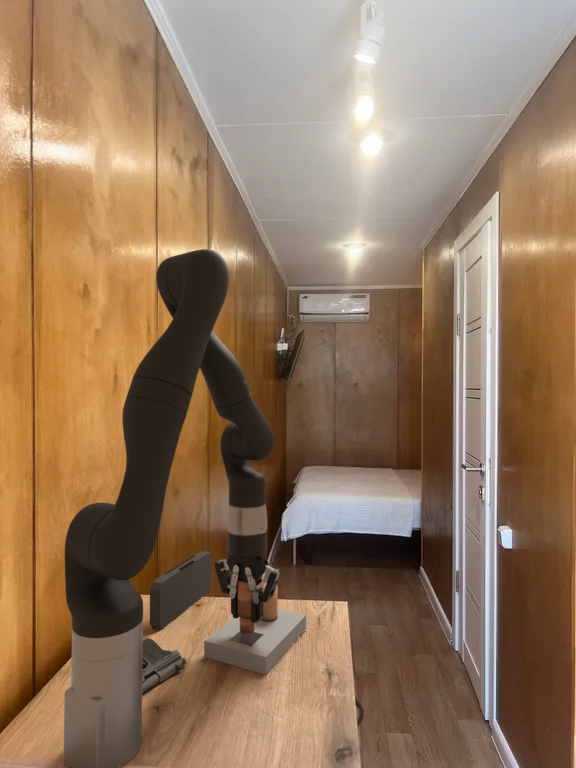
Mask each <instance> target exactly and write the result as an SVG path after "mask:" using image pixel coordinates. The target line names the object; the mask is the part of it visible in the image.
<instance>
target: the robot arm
mask: <svg viewBox="0 0 576 768" xmlns="http://www.w3.org/2000/svg"><path fill="white" fill-rule="evenodd" d="M228 267H229V266H228V263H227V261H226V260H225V258H224V257H223V255H222V254H221V253H219V251H216V250H214V249H210V248H209V249H208V248H207V249H203V248H202V249H196V250H192V251H188V252H184V253H180V254H177V255H172V256H170V257H167V258H165V259H164V260H162V261H161V263H160V264H159V265H158V268H157V270H156V276H155V279H156V280H155V281H156V287H157V289H158V292H159V295H160V298H161V299H162V301H163V304H164V305H165V307H166V309H167V311H168V314H170V316H171V318H172V320H171V322H170V323H169V325H168V327H167V328H166V329H165V330H164V332H163V333H162V334H161V336H160V337H159V338H158V339H157V340H156V342H155V343H154V344H153V345H152V347H150V349H149V350H148V351H147V353H146V354H145V356H143V358H142V359H141V361H139V365H138V366H137V367H136V370H135V372H134V375H133V376H132V379H131V382H130V385H129V388H128V391H127V394H126V397H125V400H124V403H123V408H122V414H121V415H122V421H121V422H122V423H121V424H122V433H123V439H124V440H123V441H124V444H125V445H124V446H125V456H126V458H125V459H126V460H125V461H126V462H125V471H124V477H123V480H122V484H121V486H120V490H119V492H118V496H117V499H116V501H115V504H113V503H109V502H108V503H107V502H95V503H91V504H90V503H89V504H88V505H86V506H84V507H83V508H81V509H80V510H79V511H78V512H77V513H76V514H75V515H74V517H73V519H72V520H71V522H70V524H69V526H68V528H67V532H66V535H65V536H66V537H65V540H64V541H65V543H64V583H65V599H66V600H65V601H66V605H67V609H68V611H69V613H70V616H71V665H70V666H71V667H70V668H71V671H70V674H71V676H70V677H71V679H70V682H71V683H70V687H68V688H67V689H66V690H65V691H64V707H63V708H64V709H63V710H64V711H63V715H64V717H63V721H64V722H63V724H64V725H63V764H64V765H66V766H69V767H70V768H121V767H122V766H124V765H125V764H127V763H128V762H129V761H131V759H133V758H134V757H135V756H136V755H137V753H138V752H139V750H140V749H141V747H142V741H143V740H142V739H143V738H142V737H143V693H142V656H143V639H144V638H143V637H144V636H143V635H144V634H143V633H144V632H143V631H144V601H143V597H142V596H141V593H140V592H139V591H138V590H137V589H136V588H135V587H134V586H133V584H132V583H131V581H130V579H132V578H134V577H136V576H137V575H138V574H139V573H141V572H142V570H143V569H144V568H145V567H146V566H147V564H148V562H149V560H150V559H151V556H152V555H153V552H154V549H155V547H156V543H157V539H158V535H159V532H160V531H159V530H160V527H161V520H162V514H163V510H164V509H163V508H164V505H165V504H164V503H165V498H166V493H167V488H168V487H167V486H168V482H169V480H170V479H169V478H170V474H171V469H172V466H173V462H174V458H175V455H176V452H177V451H176V450H177V446H178V443H179V439H180V436H181V433H182V429H183V426H184V423H185V420H186V418H187V415H188V410H189V408H190V404H191V400H192V397H193V393H194V391H195V390H194V389H195V385H196V381H197V378H198V375H199V371H200V372H201V373H202V375H203V378H204V381H205V384H206V386H207V389H208V392H209V394H210V397H211V400H212V402H213V405H214V408H215V410H216V413H217V415H218V416H219V417H221V419H224V420H226V421H229V422H231V423H229V424H227V425H226V426H225V428H224V429H223V431H222V434H221V436H220V439H219V441H220V442H219V444H220V445H219V446H220V447H219V448H220V453H221V458H222V462H223V467H224V470H225V474H226V477H227V480H228V508H227V509H228V510H227V520H226V521H227V523H226V524H227V526H226V527H227V528H226V529H227V534H226V536H227V537H226V539H227V542H226V543H227V553H228V554H227V557H226V559H225V558H221V559H220V560H218V561H216V562H214V569H215V573H216V576H217V580H218V582H219V586H220V590H221V593H222V594H226V595H228V596H229V598H230V614H231V615H232V619H233V618H236V619H237V618H238V615H237V612H238V581H243V582H248V584H249V589H250V591H251V592H252V597H253V601H254V602H253V603H252V622H253V623H258V622H259V621H260V620H261V618H262V617H263V615H264V610H263V609H264V602H267V601H268V600H269V599H270V598H272V597H273V595H274V592H275V589H276V586H277V585H278V583H279V580H280V578H281V575H282V570H281V568H274V567H273V566H270V565H269V560H268V558H267V552H268V514H267V513H268V511H267V506H266V502H267V501H266V500H267V499H266V498H267V497H266V496H267V493H266V492H267V491H266V487H267V486H266V478H265V476H264V474H262V473H261V472H259V471H257V470H255V469H254V468H253V467H252V465H251V463H250V461H255V462H259V461H264V460H267V459H268V458H270V456H271V455H272V454H273V452H274V448H275V435H274V430H273V429H272V426H271V424H270V423H269V421H268V420H267V418H266V417H265V415H264V414H263V412H262V410H261V408H260V407H259V406H258V404H257V403H256V401H255V400H254V398H253V396H252V393H251V391H250V387H249V384H248V380H247V377H246V375H245V373H244V370H243V368H242V366H241V364H240V362H239V361H238V360H237V358H236V357H235V355H233V353H232V352H231V350H230V349H228V347H227V346H226V345H225V344H224V343H223V342H222V340H221V339H220V338H219V337H218V336H217V335H216V333H215V332H214V327H215V326H216V322H217V320H218V318H219V315H220V312H221V310H222V309H223V306H224V303H225V301H226V297H227V295H228V291H229V285H230V272H229V271H230V270H229V268H228ZM230 572H231V573H230ZM265 573H266V576H265V579H266V580H267V581H266V583H267V584H266V587H265V590H264V588H263V586H264V583H265V581H264V576H263V575H264V574H265ZM231 574H232V575H231ZM256 582H257V583H256ZM255 583H256V584H255Z"/></svg>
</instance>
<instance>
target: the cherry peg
mask: <svg viewBox="0 0 576 768" xmlns="http://www.w3.org/2000/svg"><path fill="white" fill-rule="evenodd" d="M256 583H257V582H256ZM256 583H255V584H256ZM253 602H254V601H253V597H252V592H251V591H250V589H249V584H248V582H243V581H238V612H237V615H238V617H240V632H241V633H243V634H250V633H253V632H254V631H255V623H253V622H252V603H253Z"/></svg>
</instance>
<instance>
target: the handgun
mask: <svg viewBox="0 0 576 768" xmlns="http://www.w3.org/2000/svg"><path fill="white" fill-rule="evenodd" d="M185 665H187V658H185V657H182V654H181V652H180V651H178V649H176V650H172V651H171V650H166V649H163V648H162V647H161V646H160V645H159V644H158V643H157V642H156V641H155V640H154V639H152V638H149V637H144V638H143V656H142V694H143V693H145V692H146V691H148V690H149V689H151V688H152V687H154V686H155V685H158V684H161V683H162V682H163V681H165V680H166V679H168V678H170V677H171V676H172V675H174V674H180V673H181V672H182V671H183V670H182V669H183V667H184V666H185Z"/></svg>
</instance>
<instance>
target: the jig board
mask: <svg viewBox="0 0 576 768" xmlns="http://www.w3.org/2000/svg"><path fill="white" fill-rule="evenodd" d="M266 584H267V582H264V586H263V588H264V590H265V587H266ZM278 592H279V591H278V584H277V586H276V589H275V592H274V595H273V597H272V598H270V599H269V600H268V601H267V602H264V609H263V610H264V615H263V617H262V618H261V620H260V621H259V622H258V623H255V631H254V632H253V633H250V634H243V633H241V632H240V617H238V618H237V619H236V618H233V617H232V618H231V619H230V620H229V621H227V622H226V623H225V624H224V625H222V626H221V627H219V629H217V630H216V631H215V632H213V633H212V634H211V635H209V636H208V637H207V638H206V639H204V641H203V657H204V658H206V659H210V660H213V661H217V662H221V663H223V664H226V665H230V666H234V667H238V668H240V669H241V668H242V669H244V670H248V671H252V672H254V673H259V674H263V675H265V676H266V675H267V674H268V672H270V671H271V669H273V667H275V665H276V664H277V663H278V662H279V661H280V659H282V657H284V655H285V654H286V653H287V652H288V650H290V648H291V647H292V646H293V645H294V644H295V643H294V642H297V640H298V639H299V638H300V637H301V636H302V635H303V634H304V633H305V631H306V630H307V614H303V613H299V612H294V611H290V610H286V609H281V608H278V603H279V602H278V599H279V598H278V594H279V593H278ZM305 629H306V630H305ZM304 630H305V631H304ZM303 632H304V633H303ZM302 633H303V634H302ZM301 634H302V635H301ZM300 635H301V636H300ZM299 636H300V637H299ZM298 637H299V638H298ZM293 643H294V644H293ZM292 644H293V645H292Z"/></svg>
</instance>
